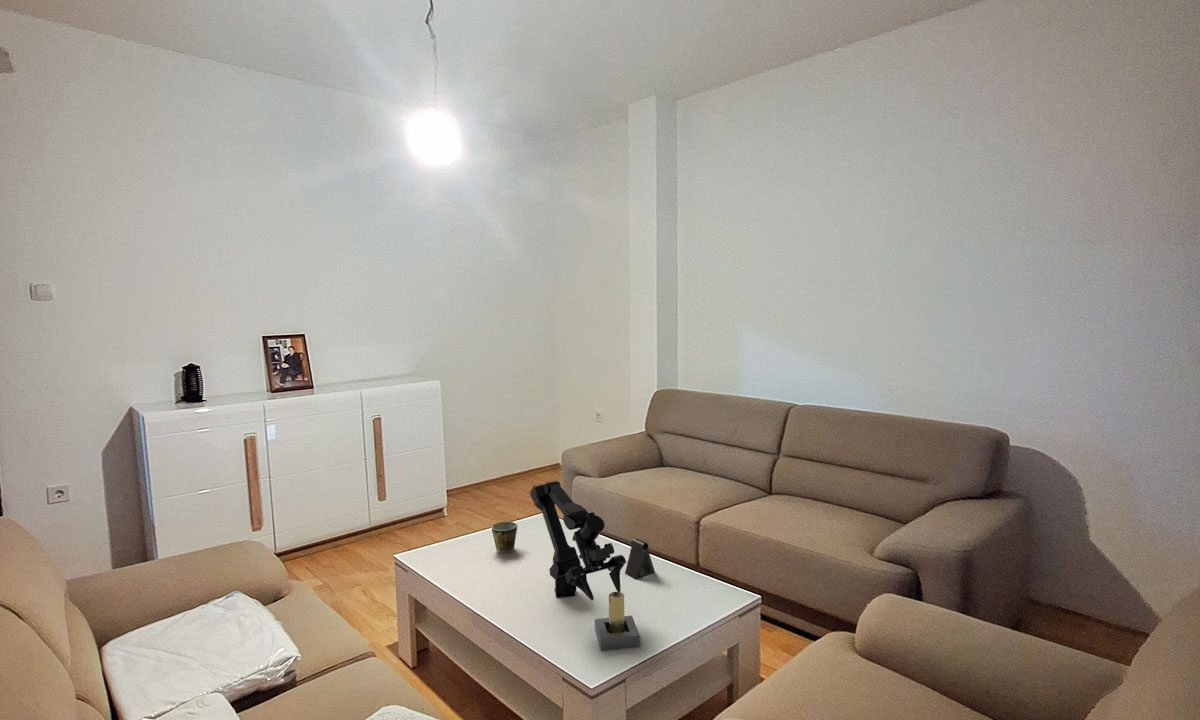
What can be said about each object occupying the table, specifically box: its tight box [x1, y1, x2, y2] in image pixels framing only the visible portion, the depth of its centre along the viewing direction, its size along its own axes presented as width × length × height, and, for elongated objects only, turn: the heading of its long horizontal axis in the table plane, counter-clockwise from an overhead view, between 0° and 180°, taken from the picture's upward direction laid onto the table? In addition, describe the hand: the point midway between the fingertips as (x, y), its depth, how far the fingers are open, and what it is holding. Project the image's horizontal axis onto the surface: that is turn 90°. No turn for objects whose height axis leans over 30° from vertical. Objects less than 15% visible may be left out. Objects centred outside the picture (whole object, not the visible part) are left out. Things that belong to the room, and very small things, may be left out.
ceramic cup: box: [491, 520, 518, 555], centre depth 243 cm, size 13×10×10 cm
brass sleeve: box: [608, 591, 625, 634], centre depth 179 cm, size 4×4×13 cm
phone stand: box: [624, 537, 656, 580], centre depth 222 cm, size 9×6×12 cm, turn 127°
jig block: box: [594, 615, 641, 652], centre depth 180 cm, size 11×11×4 cm
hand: (606, 595), depth 184 cm, fingers open, 9 cm apart
